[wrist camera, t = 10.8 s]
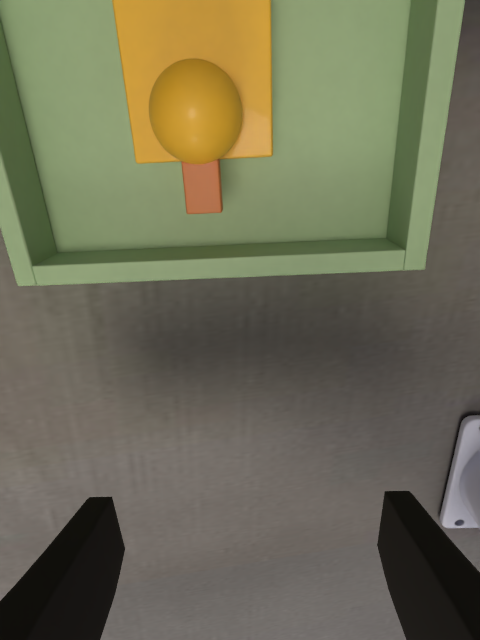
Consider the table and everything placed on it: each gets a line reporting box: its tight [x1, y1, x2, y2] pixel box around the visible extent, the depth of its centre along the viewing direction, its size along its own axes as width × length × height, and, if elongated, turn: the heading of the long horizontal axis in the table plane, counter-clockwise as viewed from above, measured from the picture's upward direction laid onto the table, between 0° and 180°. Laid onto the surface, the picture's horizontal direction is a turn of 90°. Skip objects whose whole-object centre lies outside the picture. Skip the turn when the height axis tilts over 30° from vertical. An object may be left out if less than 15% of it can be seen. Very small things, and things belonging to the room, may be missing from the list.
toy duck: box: [112, 0, 273, 214], centre depth 11 cm, size 9×4×5 cm, turn 3°
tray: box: [0, 0, 465, 286], centre depth 13 cm, size 16×15×3 cm
